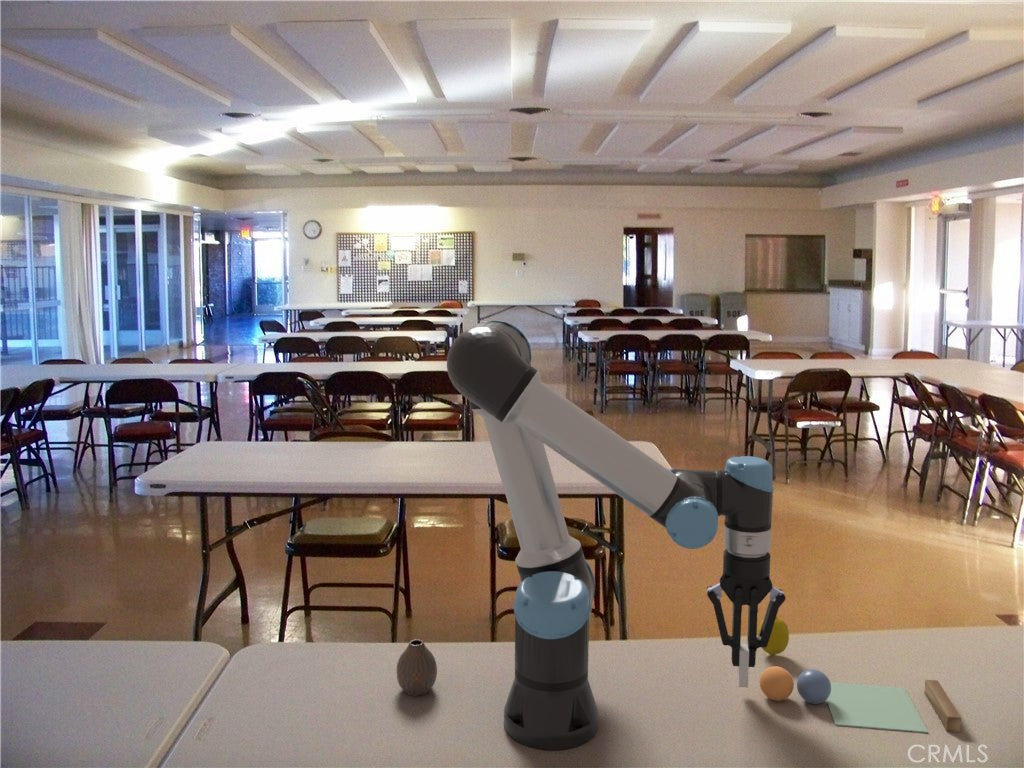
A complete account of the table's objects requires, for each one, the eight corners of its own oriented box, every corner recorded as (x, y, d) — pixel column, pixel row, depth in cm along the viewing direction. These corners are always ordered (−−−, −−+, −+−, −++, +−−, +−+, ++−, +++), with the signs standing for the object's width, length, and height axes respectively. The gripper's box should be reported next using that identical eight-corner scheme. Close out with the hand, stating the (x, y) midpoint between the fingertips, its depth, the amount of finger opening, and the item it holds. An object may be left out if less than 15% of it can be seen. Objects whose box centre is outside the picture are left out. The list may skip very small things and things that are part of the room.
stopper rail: (946, 731, 140) (947, 716, 140) (924, 693, 152) (925, 679, 152) (959, 732, 140) (961, 717, 140) (936, 694, 152) (937, 680, 151)
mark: (835, 725, 142) (835, 724, 142) (819, 682, 156) (819, 681, 156) (928, 732, 140) (928, 731, 140) (904, 688, 154) (904, 687, 154)
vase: (411, 704, 148) (410, 655, 147) (389, 688, 154) (388, 641, 152) (445, 691, 153) (444, 643, 151) (422, 676, 158) (421, 629, 156)
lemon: (789, 664, 162) (791, 622, 161) (757, 661, 164) (759, 620, 162) (786, 650, 168) (788, 610, 166) (755, 647, 169) (757, 608, 168)
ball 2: (795, 704, 147) (804, 675, 146) (790, 688, 152) (799, 659, 151) (828, 714, 146) (838, 684, 145) (822, 697, 152) (831, 668, 151)
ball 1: (792, 673, 146) (798, 704, 147) (787, 658, 152) (793, 688, 152) (758, 678, 147) (765, 709, 148) (754, 663, 153) (761, 692, 153)
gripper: (707, 556, 144) (704, 691, 148) (791, 560, 142) (785, 697, 146) (705, 541, 152) (702, 670, 156) (784, 544, 150) (779, 675, 153)
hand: (742, 683), depth 151 cm, fingers closed
